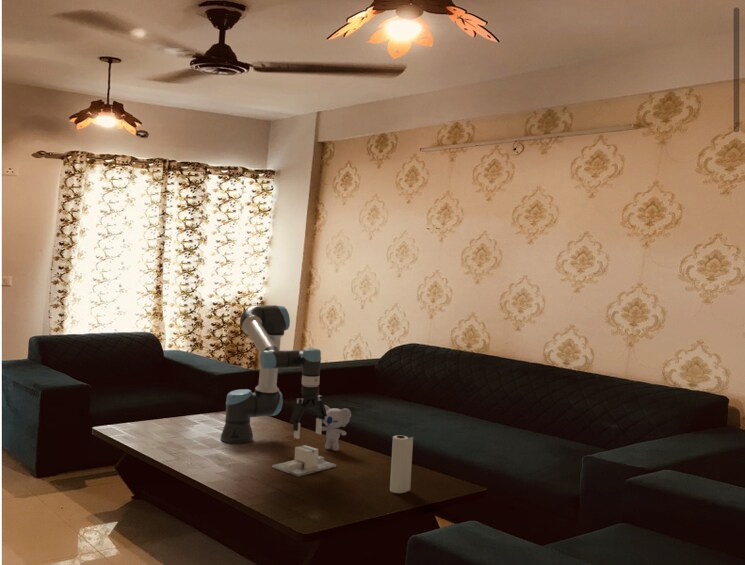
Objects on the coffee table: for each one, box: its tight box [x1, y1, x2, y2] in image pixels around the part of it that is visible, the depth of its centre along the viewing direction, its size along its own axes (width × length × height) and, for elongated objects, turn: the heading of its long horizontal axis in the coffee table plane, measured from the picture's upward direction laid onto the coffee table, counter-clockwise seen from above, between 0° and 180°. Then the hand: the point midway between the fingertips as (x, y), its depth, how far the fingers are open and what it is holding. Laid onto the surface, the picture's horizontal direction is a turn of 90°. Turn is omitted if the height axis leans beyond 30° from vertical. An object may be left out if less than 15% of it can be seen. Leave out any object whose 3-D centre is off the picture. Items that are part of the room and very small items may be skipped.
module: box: [293, 444, 319, 468], centre depth 306 cm, size 8×6×7 cm
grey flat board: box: [271, 455, 337, 477], centre depth 305 cm, size 16×22×3 cm
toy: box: [321, 404, 352, 452], centre depth 335 cm, size 17×10×20 cm, turn 62°
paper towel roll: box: [389, 434, 414, 494], centre depth 280 cm, size 7×6×21 cm
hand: (307, 435), depth 306 cm, fingers open, 12 cm apart
